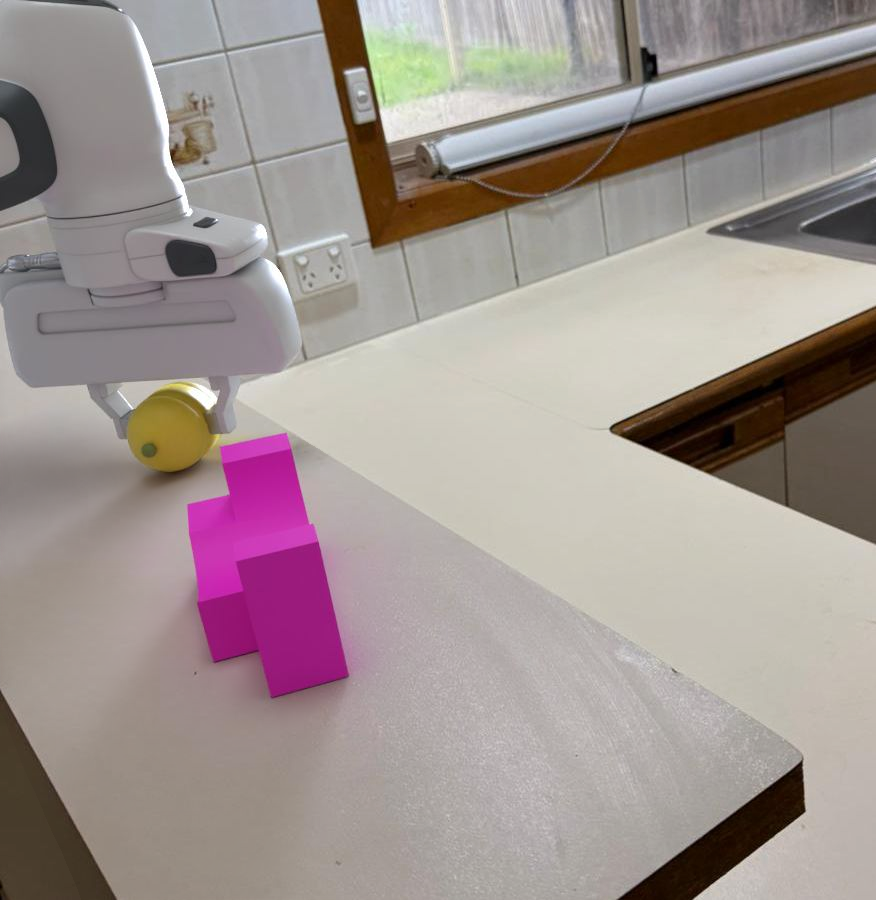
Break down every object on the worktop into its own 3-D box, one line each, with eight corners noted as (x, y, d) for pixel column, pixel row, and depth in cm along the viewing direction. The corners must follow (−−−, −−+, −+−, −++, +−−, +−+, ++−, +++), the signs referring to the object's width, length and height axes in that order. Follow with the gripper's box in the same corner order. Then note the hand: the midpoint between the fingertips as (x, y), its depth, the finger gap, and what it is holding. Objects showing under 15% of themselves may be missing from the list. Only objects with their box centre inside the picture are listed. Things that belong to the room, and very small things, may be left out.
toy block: (205, 572, 67) (174, 456, 64) (312, 546, 69) (286, 432, 66) (217, 712, 54) (178, 575, 51) (348, 676, 56) (318, 541, 53)
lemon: (193, 488, 79) (173, 413, 76) (118, 491, 79) (96, 417, 77) (248, 432, 87) (231, 363, 85) (179, 435, 88) (161, 367, 86)
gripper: (-41, 269, 75) (22, 458, 81) (251, 246, 73) (296, 444, 78) (13, 245, 81) (69, 424, 87) (286, 224, 78) (326, 409, 84)
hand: (179, 433), depth 82 cm, fingers closed on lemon, 5 cm apart
